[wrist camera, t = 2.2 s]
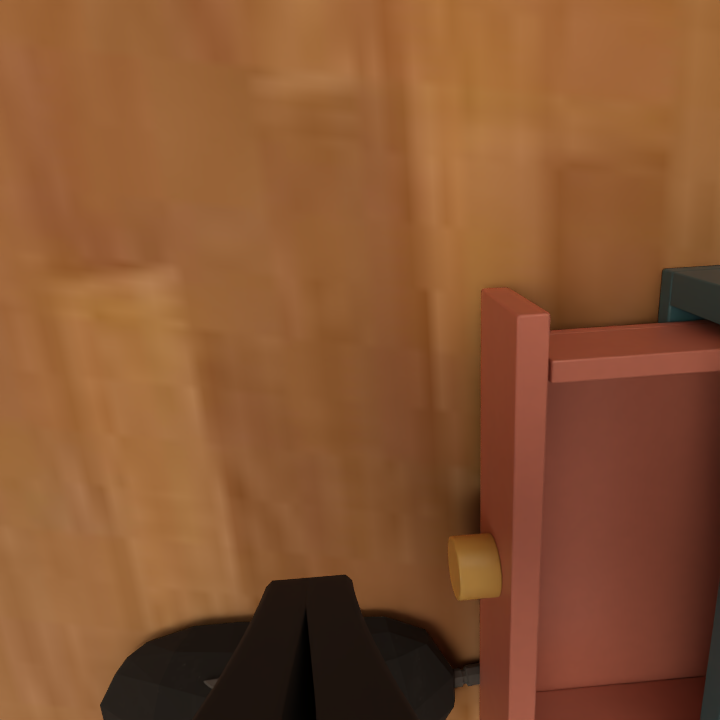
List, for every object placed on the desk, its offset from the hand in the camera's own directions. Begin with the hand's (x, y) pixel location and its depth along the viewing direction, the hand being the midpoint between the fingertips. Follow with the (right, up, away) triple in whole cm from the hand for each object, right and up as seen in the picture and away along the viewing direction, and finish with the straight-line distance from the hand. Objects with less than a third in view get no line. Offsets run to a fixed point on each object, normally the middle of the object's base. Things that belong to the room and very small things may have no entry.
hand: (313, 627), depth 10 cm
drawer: (+9, -1, +10) cm, 13 cm away
